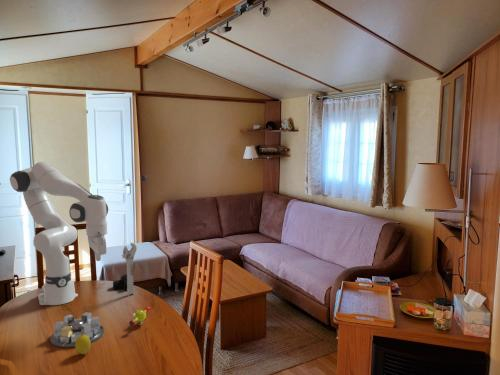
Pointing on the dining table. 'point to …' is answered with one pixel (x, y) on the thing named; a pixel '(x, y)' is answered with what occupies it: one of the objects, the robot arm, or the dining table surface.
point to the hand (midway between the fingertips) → (97, 260)
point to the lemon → (82, 344)
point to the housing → (76, 328)
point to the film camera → (120, 283)
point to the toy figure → (139, 316)
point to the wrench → (129, 266)
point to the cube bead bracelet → (65, 330)
